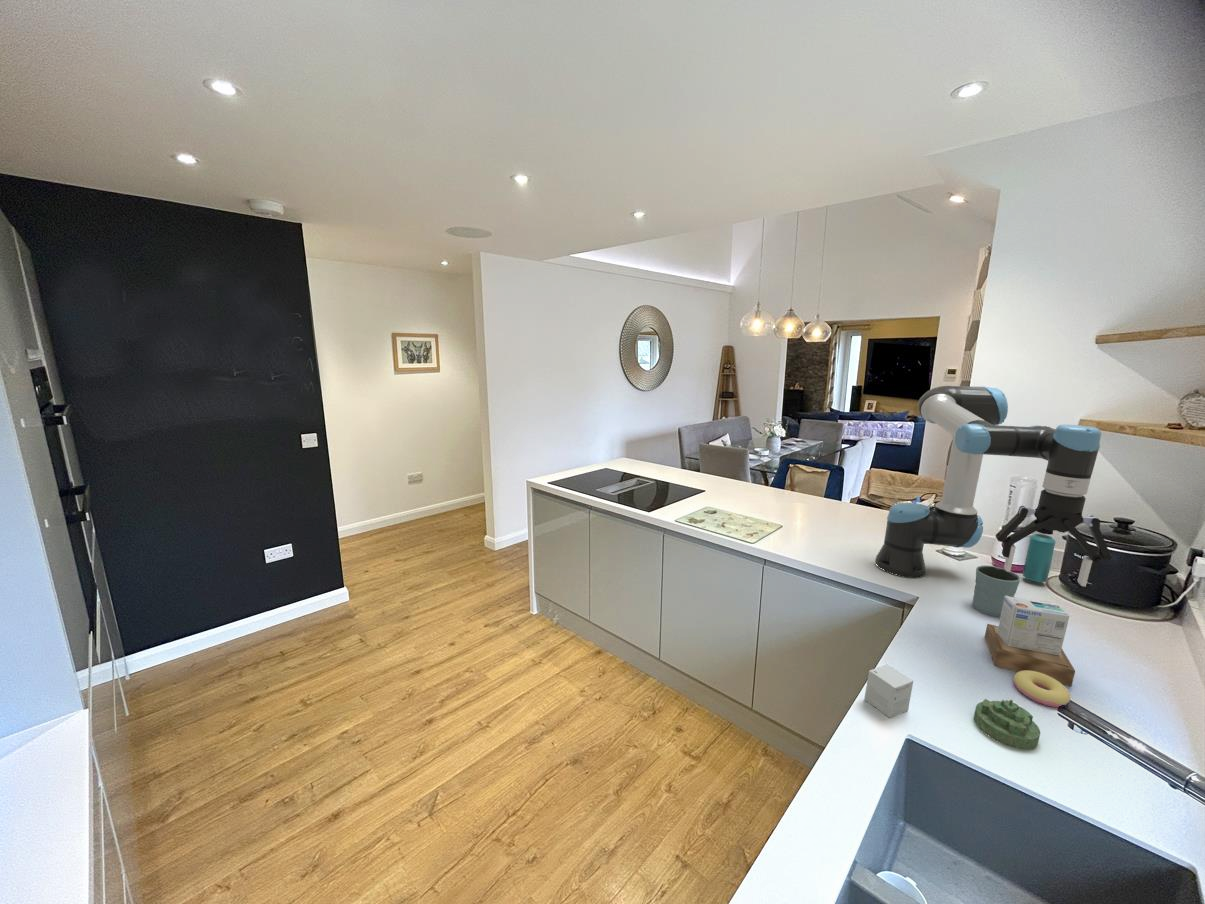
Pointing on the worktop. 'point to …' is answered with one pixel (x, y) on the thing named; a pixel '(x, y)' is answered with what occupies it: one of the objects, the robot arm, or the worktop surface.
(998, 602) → the green plant pot
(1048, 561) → the beverage bottle
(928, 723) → the worktop surface
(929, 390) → the robot arm
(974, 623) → the worktop surface
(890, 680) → the grey cube-like block
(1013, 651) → the base
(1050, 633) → the light bulb box
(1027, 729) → the decorative artifact
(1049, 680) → the donut
